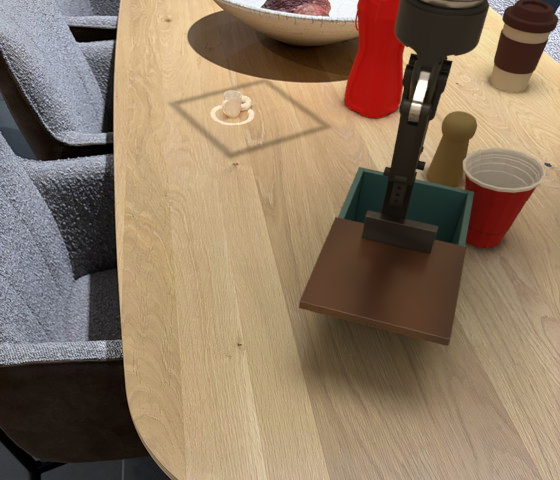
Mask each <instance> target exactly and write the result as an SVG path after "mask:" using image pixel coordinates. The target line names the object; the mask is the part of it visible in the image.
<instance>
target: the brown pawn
mask: <svg viewBox="0 0 560 480" xmlns="http://www.w3.org/2000/svg"><path fill="white" fill-rule="evenodd" d="M477 129H478V123H477V119H476V118H475V116H474V115H472V114H471V113H469V112H466V111H461V110H456V111H451V112H449V113H448V114H447V115H446V116H445V117H444V118H443V120H442V123H441V133H442V136H441V138H440V141H439V144H438V146H437V147H436V150H435V153H434V155H433V157H432V160H431V162H430V164H429V167H428V169H427V172H426V174H425V177H426V180H427V182H432V183H436V184H441V185H446V186H450V187H455V188H459V186H461V185H462V182H463V180H464V175H465V173H464V172H463V160H464V159H465V158H466V157H467V156H468V151H469V150H468V149H469V144H470V140H471V139H472V138H474V136H475V134H476V131H477Z"/></svg>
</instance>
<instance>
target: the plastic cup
mask: <svg viewBox="0 0 560 480" xmlns="http://www.w3.org/2000/svg"><path fill="white" fill-rule="evenodd" d="M463 172H464V177H465V178H464V179H465V180H464V181H465V182H464V183H465V186H464V190H468V191H473V192H474V197H473V203H472V208H471V214H470V220H469V225H468V231H467V237H466V242H465V243H467V244H468V245H469V246H472V247H475V248H478V249H483V250H484V249H493V248H495V247H497V246H499V245H500V243H501V242H502V240H503V238H504V237H505V236H506V234H507V232H509V231H510V229H511V227H512V225H513V224H514V222H515V221H516V219H517V217H518V216H519V214H520V213H521V211H522V209H523V208H524V206H525V204H526V203H527V202H528V201H529V199H530V198H531V196H532V195H533V193H535V190H537V188H538V187H540V185H541V184H542V183H543V181H544V180H545V178H546V176H547V171H546V167H545V166H544V164H542V162H541V161H540V160H539V159H537V158H536V157H534V156H532V155H530V154H528V153H526V152H523V151H519V150H516V149H511V148H503V147H490V148H481V149H477V150H475V151H472V152H470V153H467V156H466V158H465V159H464V160H463Z"/></svg>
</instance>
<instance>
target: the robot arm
mask: <svg viewBox="0 0 560 480" xmlns="http://www.w3.org/2000/svg"><path fill="white" fill-rule="evenodd" d="M489 9H490V3H489V1H488V0H400V2H399V8H398V13H397V18H396V24H395V35H396V37H397V39H398V40H399V41H400V42H401V43H402V44H403V45H405V48H410V49H411V50H413V52H414V53H412V52H411V53H410V56H409V60H408V63H407V64H406V65H405V68H404V71H403V81H402V84H403V89H402V95H401V102H400V104H399V108H398V109H399V110H398V112H399V114H400V115H399V121H398V126H397V127H398V128H397V132H396V137H395V143H394V148H393V151H392V152H393V153H392V158H391V164H390V166H384V167H385V168H384V170H383V171H382V172H383V175H384V176H388V185H387V189H386V194H385V198H384V203H383V207H382V212H381V213H382V214H386V215H391V216H395V217H399V218H404V219H405V218H406V214H407V210H408V206H409V202H410V198H411V194H412V191H413V187H414V183H415V179H417V174H418V171H424V170H425V167H426V163H427V162H426V161H423V160H420V159H421V155H422V154H423V152H424V149H425V147H424V144H425V140H426V136H427V132H428V130H429V129H428V128H429V124H430V122H431V121H433V120H434V119H435V117H436V115H437V114H436V113H437V111H438V106H439V104H440V100H441V97H442V94H443V93H444V92H445V90H446V86H447V84H448V79H449V76H450V74H451V73H450V72H451V69H452V66H453V62H454V61H453V60H451V59H448V57H450V56H454V57H458V56H462V55H466V54H468V53H470V52H472V51H473V50H475V49H476V47H477V46H478V45H479V43H480V40H481V37H482V33H483V29H484V25H485V23H486V19H487V16H488V12H489ZM417 170H418V171H417Z"/></svg>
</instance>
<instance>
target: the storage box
mask: <svg viewBox="0 0 560 480" xmlns="http://www.w3.org/2000/svg"><path fill="white" fill-rule="evenodd" d="M383 172H384V171H380V170H375V169H370V168H366V167H362V166H358V169H357V171H356V173H355V175H354V177H353V180H352V183H351V185H350V187H349V190H348V192H347V194H346V197H345V199H344V201H343V204H342V206H341V209H340V211H339V214H338V215H337V217H338V218H343V219H347V220H351V221H356V222H360V223H364V222H365V217H366V214H367V211H373V212H377V213H381V212H382V207H383V203H384V198H385V194H386V189H387V185H388V176H384V175H383ZM473 197H474V192H473V191H468V190H465V188H460V187H450V186H446V185H441V184H436V183H432V182H429V181H428V180H422V179H417V178H416V179H415V183H414V187H413V191H412V194H411V198H410V202H409V206H408V210H407V214H406V218H405V219H408V220H413V221H417V222H422V223H426V224H431V225H435V226H438V230H437V234H436V237H435V240H439V241H443V242H447V243H452V244H456V245H461V246H465V247H466V243H467V242H466V237H467V231H468V225H469V220H470V214H471V208H472V203H473Z"/></svg>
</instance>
